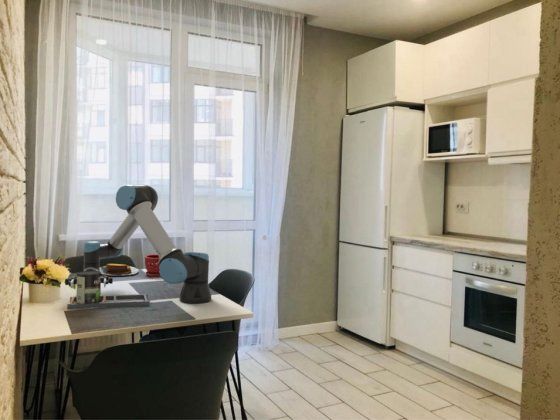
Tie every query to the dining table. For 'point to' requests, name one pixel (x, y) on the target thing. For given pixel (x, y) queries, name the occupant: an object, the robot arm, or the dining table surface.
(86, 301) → the coffee can
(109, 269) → the food on plate
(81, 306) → the gray rectangular tray
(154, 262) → the plant pot
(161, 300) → the dining table surface
